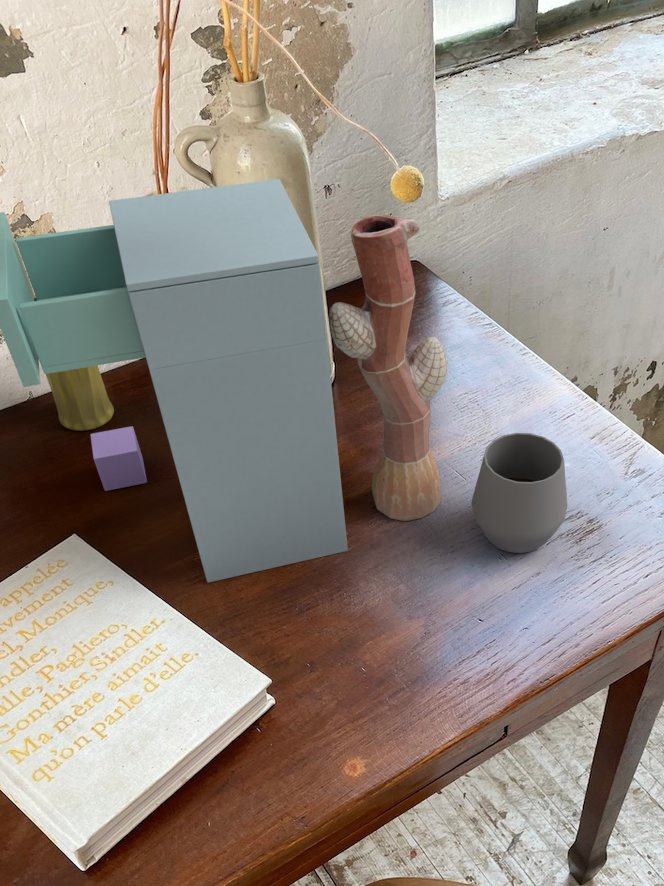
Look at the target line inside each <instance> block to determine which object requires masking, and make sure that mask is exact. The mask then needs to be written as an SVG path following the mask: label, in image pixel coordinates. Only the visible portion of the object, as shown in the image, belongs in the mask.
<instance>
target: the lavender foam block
mask: <svg viewBox="0 0 664 886" xmlns="http://www.w3.org/2000/svg"><path fill="white" fill-rule="evenodd" d="M90 443H91V449H92V457H93V460H94V464H95V467H96V470H97V473H98V475H99V478H100V481H101V484H102V487H103V489H104V491H105V492H108V491H112V490H118V489H122V488H123V489H124V488H127V487H132V486H138V485H142V484H147V483H148V480H147V474H146V468H145V464H144V458H143V454H142V452H141V451H142V450H141V448H140V445H139V442H138V439H137V435H136V432H135V429H134V426H131V425H130V426H126V427H121V428H120V427H119V428H116V429H115V428H114V429H110V430H104V431H98V432H93V433H90Z"/></svg>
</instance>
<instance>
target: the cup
mask: <svg viewBox="0 0 664 886" xmlns="http://www.w3.org/2000/svg"><path fill="white" fill-rule="evenodd" d="M566 479H567V478H566V469H565V458H564V455H563V452H562V449H560V447H559V446H558V445H557V444H556V443H555V442H553V441H552V440H550V439H548V438H547V437H545V436H542V435H538V434H535V433H531V432H513V433H509V434H504V435H501V436H499V437H498V438H495V439H493V440H492V441H491V442H490V443H489V444H488V445H487V446H486V447H485V451H484V454H483V457H482V460H481V464H480V468H479V473H478V476H477V480H476V483H475V488H474V491H473V495H472V498H471V509H472V513H473V517H474V518H473V519H474V520H475V522H476V523H477V525H478V527H479V528H480V530H481V531H482V532H483V534H484V536H485V537H486V538H487V539H488V540H489V543H491V544H492V545H493V546H494V547H496V548H498V549H499V550H500V551H501V550H502V551H505V552H507V553H508V552H509V553H510V554H511V553H513V554H514V553H515V554H525V553H529V552H534V551H536V550H537V549H539V548H541V547H542V546H544V545H545V544H546V543H547V542H548V541H549V540H550V538H552V536H554V535H555V534H556V532H557V531H558V530H559V529H560V527H562V525H563V524H564V522H565V520H566V515H567V510H568V495H567V481H566Z"/></svg>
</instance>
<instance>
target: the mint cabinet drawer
mask: <svg viewBox="0 0 664 886" xmlns="http://www.w3.org/2000/svg"><path fill="white" fill-rule="evenodd" d="M12 231H13V230H12V229H11V226H10V223H9V220H8V217H7V215H6V212H4V211H2V212H0V332H1V334H2V336H3V339H4V341H5V344H6V346H7V349H8V352H9V354H10V356H11V359H12V362H13V364H14V366H15V369H16V371H17V374H18V377H19V379H20V381H21V384H22V386H23V388H26V387H27V388H28V387H31V386H33V387H34V386H37V385H41V374H40V373H41V372H40V366H41V369H42V372H43V374H44V375H46V374H49V373H55V372H61V371H67V370H73V369H79V368H85V367H91V366H103V365H107V364H109V365H110V364H114V363H120V362H125V361H132V360H138V359H143V358H146V356H145V352H144V348H143V345H142V341H141V337H140V334H139V330H138V326H137V323H136V319H135V315H134V312H133V308H132V304H131V301H130V297H129V293H128V290H127V286H126V282H125V277H124V272H123V267H122V262H121V257H120V253H119V248H118V243H117V238H116V233H115V229H114V224H110V225H109V224H108V225H102V226H101V225H100V226H95V227H94V226H93V227H87V228H79V229H74V230H73V229H72V230H65V231H64V230H63V231H58V232H57V231H56V232H50V233H43V234H35V235H28V236H21V237H20V236H19V237H14V234H13V232H12ZM34 295H35V296H36V299H37V301H34Z"/></svg>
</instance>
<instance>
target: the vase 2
mask: <svg viewBox="0 0 664 886" xmlns="http://www.w3.org/2000/svg"><path fill="white" fill-rule="evenodd" d="M419 231H420V226H419V224H418V222H416V220H415V219H413V218H403V217H396V216H391V215H385V214H371V215H369V216H366V217H363V218H361V219H360V220H359V221H357V222H356V223H354V224H353V226H352V229H351V232H350V233H351V235H350V238H351V243H352V246H353V249H354V250H353V251H354V252H355V257H356V261H357V265H358V268H359V272H360V275H361V278H362V282H363V288H364V293H365V296H364V302H363V304H362V307H361V308H360V307H358V306H354V305H352V304H350V303H345V302H341V301H338V302H334V303H333V304H332V305H331V306H330V308H329V313H328V316H329V317H328V318H329V319H328V320H329V327H330V328H329V329H330V333H331V337H332V339H333V341H334V344H335V346H336V347H337V349H339V350H340V351H341V352H343V353H344V354H345V355H347V356H348V357H350V358H352V359H353V358H354V359H356V360H357V364H358V368H359V371H360V372H361V374H362V376H363V378H364V380H365V382H366V383H367V385H368V387H369V388H370V389H371V391H372V393H373V395H374V396H375V397H376V400H377V402H378V403H379V405H380V407H381V410H382V415H383V425H384V426H383V431H384V432H383V444H382V450H381V453H380V455H379V457H378V460H377V463H376V466H375V468H374V472H373V475H372V479H371V494H372V498H373V501H374V505H375V509H376V510H377V511H378V512H380V513H382V514H383V515H384V516H386V517H388V518H389V519H391V520H395V521H402V522H408V521H414V520H419V519H423V518H424V517H426V516H428V515H431V514H432V513H434V511H435V510H436V509H437V508H438V507H439V505H440V503H442V490H441V478H440V473H439V469H438V466H437V463H436V460H435V459H434V456H433V454H432V451H431V447H430V428H431V418H432V417H431V416H432V409H431V402H430V401H431V400H432V399H433V397H434V396H436V394H438V392H439V391H440V390H441V388H442V386H443V385H444V383H445V381H446V378H447V375H448V359H447V354H446V351H445V348H444V346H443V343H441V342H440V341H439V339H438V338H437V337H435V336H431V337H430V336H429V337H426V338H425V339H424V340H422V341H421V342H420V343H419V344H418V345H417V346H416V348H415V349H414V350H413V352H412V353H411V354H410V355H409V357H407V354H406V352H407V341H408V335H409V329H410V323H411V319H412V313H413V309H414V303H415V298H416V286H415V285H416V284H415V277H414V273H413V268H412V263H411V259H410V253H409V248H408V240H409V239H411V238H413V236H415V235H417V233H418V232H419Z"/></svg>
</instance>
